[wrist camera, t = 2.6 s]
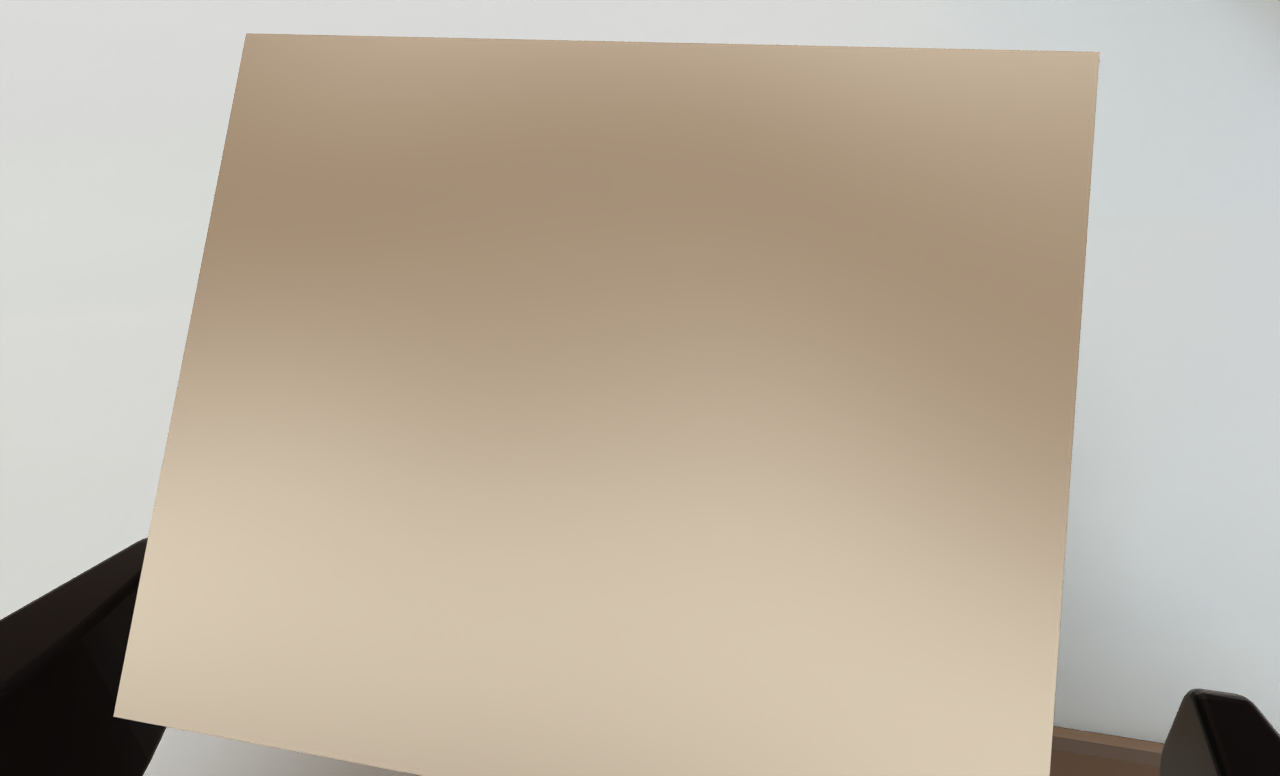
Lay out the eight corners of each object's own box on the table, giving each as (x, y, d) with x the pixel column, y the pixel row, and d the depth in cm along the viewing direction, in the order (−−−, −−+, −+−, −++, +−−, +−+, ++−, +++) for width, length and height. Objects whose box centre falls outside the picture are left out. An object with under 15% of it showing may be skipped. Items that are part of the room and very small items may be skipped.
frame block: (923, 674, 17) (1061, 899, 6) (574, 621, 19) (114, 717, 7) (948, 382, 18) (1117, 51, 6) (611, 351, 19) (246, 32, 8)
